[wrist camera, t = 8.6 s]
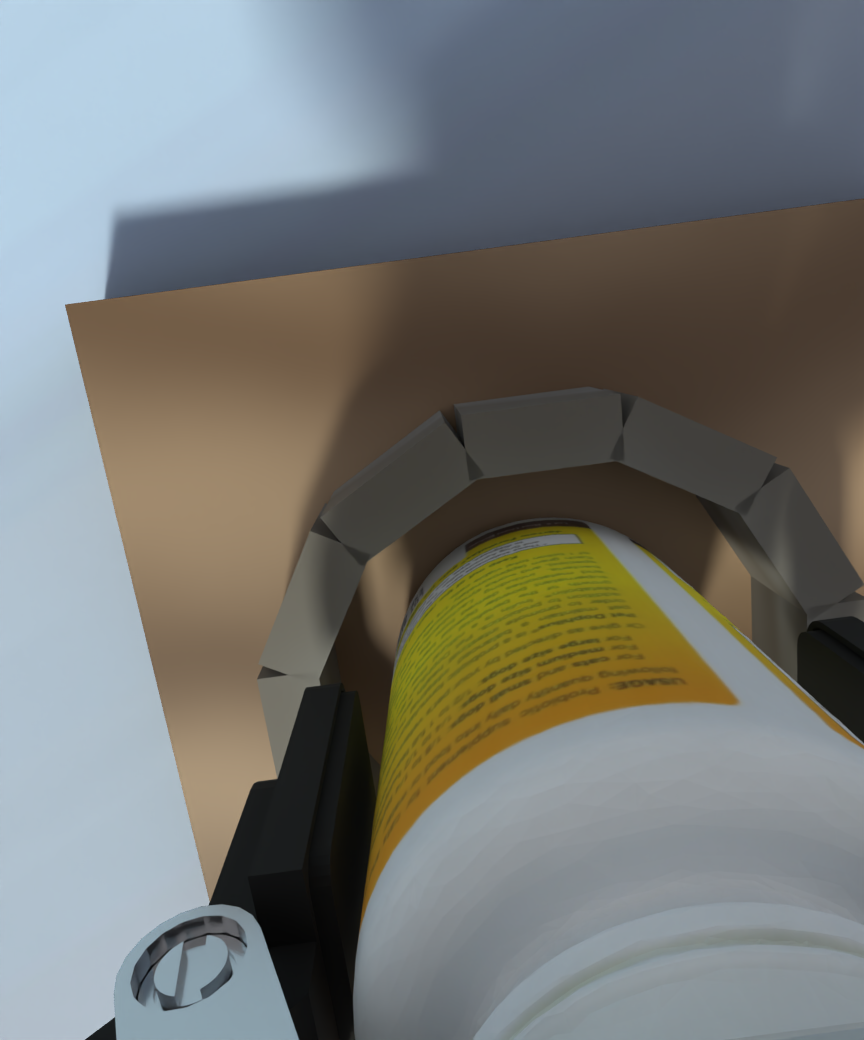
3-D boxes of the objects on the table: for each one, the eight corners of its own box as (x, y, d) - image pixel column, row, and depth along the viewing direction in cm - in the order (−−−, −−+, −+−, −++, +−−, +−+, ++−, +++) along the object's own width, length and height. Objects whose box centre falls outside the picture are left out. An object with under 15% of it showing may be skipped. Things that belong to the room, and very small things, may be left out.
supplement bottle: (351, 715, 14) (139, 1598, 4) (473, 460, 13) (593, 808, 3) (605, 822, 14) (971, 1846, 5) (743, 584, 13) (1642, 1249, 3)
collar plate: (102, 308, 14) (-2, 297, 10) (891, 204, 13) (1053, 156, 10) (251, 956, 17) (211, 1108, 14) (874, 875, 17) (990, 1008, 14)
